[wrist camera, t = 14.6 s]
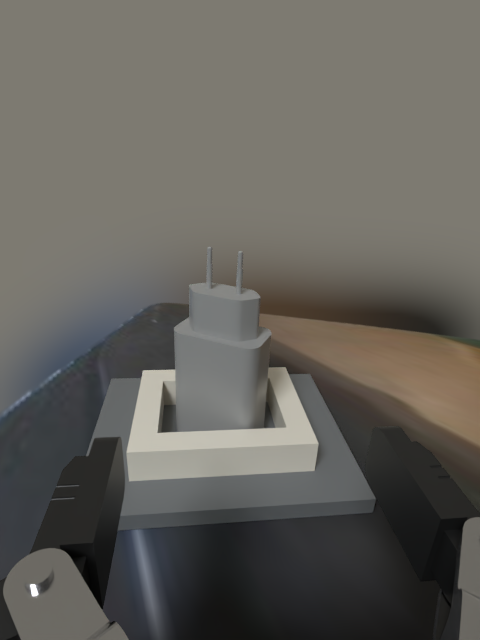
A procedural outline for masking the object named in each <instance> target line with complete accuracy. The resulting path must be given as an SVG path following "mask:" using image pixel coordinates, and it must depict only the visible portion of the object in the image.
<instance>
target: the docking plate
mask: <svg viewBox="0 0 480 640" xmlns="http://www.w3.org/2000/svg"><path fill="white" fill-rule="evenodd" d="M101 437H121V440H122V449H123V460H124V471H125V492H124V499H123V504H122V510H121V515H120V520H119V526H118V531H119V530H133V529H147V528H162V527H176V526H190V525H204V524H218V523H233V522H247V521H261V520H275V519H289V518H304V517H318V516H332V515H346V514H360V513H373V510H374V506H375V501H376V498H375V496H374V494H373V492H372V491H371V489H370V487H369V485H368V483H367V481H366V479H365V477H364V475H363V474H362V472H361V470H360V468H359V466H358V464H357V462H356V460H355V458H354V457H353V455H352V453H351V451H350V449H349V447H348V445H347V443H346V441H345V440H344V438H343V436H342V434H341V432H340V430H339V428H338V426H337V424H336V422H335V421H334V419H333V417H332V415H331V413H330V411H329V409H328V407H327V405H326V404H325V402H324V400H323V398H322V396H321V394H320V392H319V390H318V388H317V387H316V385H315V383H314V381H313V379H312V377H311V375H310V374H288V372H287V370H286V367H274V368H268V380H267V393H266V405H265V418H264V428H263V429H239V430H215V431H191V432H178V431H177V423H176V383H175V370H143V374H142V378H124V379H111V382H110V385H109V388H108V391H107V394H106V397H105V400H104V403H103V406H102V409H101V412H100V415H99V418H98V421H97V424H96V428H95V431H94V434H93V437H92V440H91V443H90V446H89V449H88V452H87V455H86V456H89V453H90V450H91V447H92V444H93V441H94V439H95V438H101Z"/></svg>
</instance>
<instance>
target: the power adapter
mask: <svg viewBox="0 0 480 640" xmlns="http://www.w3.org/2000/svg"><path fill="white" fill-rule="evenodd" d="M242 264H243V252H242V251H239V252H238V269H237V282H236V287H234V286H228V285H222V284H217V283H212V247H208V248H207V283H200V284H191V285H189V318H187V319H186V320H184V321H183V322H181V323H180V324H178V325H177V326H175V328H174V343H175V383H176V423H177V431H178V432H191V431H215V430H239V429H263V428H264V418H265V405H266V393H267V380H268V368H269V356H270V343H271V331H270V330H269V329H267V328H263V327H259V313H260V298H261V297H260V296H259V295H258V294H257V293H256V292H255V291H253V290H250V289H245V288H242V274H243V269H242Z"/></svg>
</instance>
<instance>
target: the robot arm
mask: <svg viewBox="0 0 480 640" xmlns="http://www.w3.org/2000/svg"><path fill="white" fill-rule="evenodd" d="M365 471H366V477H367V480H368V483H369V485H370V487H371V489H372V491H373V493H374V495H375V496H376V498H377V500H378V502H379V504H380V506H381V508H382V510H383V511H384V513H385V515H386V517H387V519H388V521H389V523H390V525H391V527H392V528H393V530H394V532H395V534H396V536H397V538H398V540H399V542H400V544H401V545H402V547H403V549H404V551H405V553H406V555H407V557H408V559H409V561H410V562H411V564H412V566H413V568H414V570H415V572H416V574H417V576H418V578H419V579H420V581H430V580H436V581H437V582H438V584H439V586H440V588H441V589H440V591H439V595H438V601H437V608H436V616H435V623H434V631H433V638H432V640H480V513H479V512H478V511H477V510H476V508H475V507H474V506H473V505H472V503H471V502H470V501H469V499H468V498H467V497H466V496H465V494H464V493H463V492H462V491H461V489H460V488H459V487H458V486H457V484H456V483H455V482H454V480H453V479H452V478H451V479H450V475H449V474H448V473H447V472H446V470H445V469H444V468H442V467H441V464H440V463H439V461H438V460H437V459H436V458H435V456H434V455H433V454H432V453H431V452H430V451H429V450H427V449H426V448H425V447H423V446H422V445H421V444H419V443H418V442H417V441H416V442H411V440H410V439H409V438H408V436H407V435H406V434H405V432H404V431H403V430H402V429H401V428H400V427H399V426H387V427H375V428H374V429H373V431H372V435H371V440H370V445H369V449H368V454H367V459H366V464H365ZM124 492H125V471H124V460H123V449H122V440H121V437H101V438H95V439H94V441H93V444H92V447H91V450H90V453H89V456H75V457H74V458H73V459H72V461H71V462H70V463H69V464H68V465H67V466H66V467H65V468H64V469H63V471H62V473H61V476H60V478H59V481H58V483H57V488H55V491H54V494H53V496H52V501H50V504H49V506H48V509H47V511H46V514H45V516H44V519H43V522H42V524H41V527H40V529H39V532H38V534H37V537H36V539H35V542H34V545H33V547H32V549H31V552H30V554H29V555H28V556H26V557H25V558H23V559H22V560H21V561H19V562H18V563H17V564H16V565H15V566H14V567H13V569H12V570H11V571H10V573H9V574H8V576H7V577H6V578H4V579H3V580H1V581H0V640H129V639H128V638H127V636H126V634H125V633H124V631H123V630H122V628H121V627H120V626H119V625H118V623H116V622H115V621H113V622H112V623H111V622H110V621H109V620H108V619H107V617H106V616H105V614H104V613H103V611H102V609H103V605H104V600H105V595H106V589H107V584H108V579H109V573H110V568H111V563H112V557H113V552H114V547H115V541H116V536H117V531H118V526H119V520H120V515H121V510H122V504H123V499H124Z"/></svg>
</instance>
